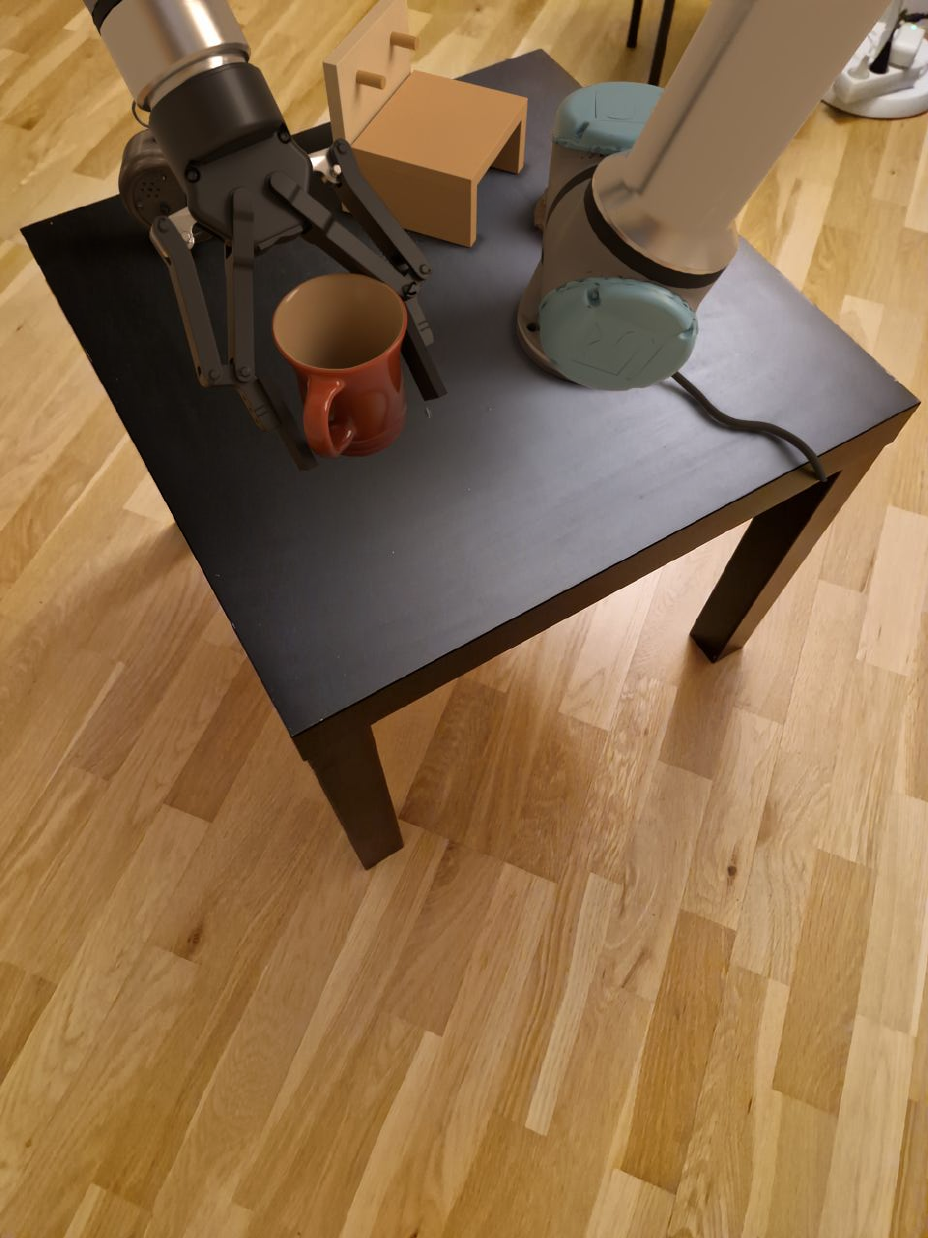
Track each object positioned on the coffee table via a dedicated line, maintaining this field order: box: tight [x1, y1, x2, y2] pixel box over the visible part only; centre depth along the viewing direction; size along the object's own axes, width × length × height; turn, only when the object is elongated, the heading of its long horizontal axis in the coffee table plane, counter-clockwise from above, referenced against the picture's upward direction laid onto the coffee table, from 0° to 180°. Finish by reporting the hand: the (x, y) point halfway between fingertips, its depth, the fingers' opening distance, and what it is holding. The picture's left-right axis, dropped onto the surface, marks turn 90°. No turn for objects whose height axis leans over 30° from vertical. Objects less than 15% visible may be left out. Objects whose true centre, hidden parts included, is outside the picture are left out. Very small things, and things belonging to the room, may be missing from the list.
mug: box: [271, 272, 408, 460], centre depth 57 cm, size 12×9×10 cm
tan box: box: [321, 0, 529, 248], centre depth 90 cm, size 16×16×16 cm
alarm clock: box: [117, 99, 213, 253], centre depth 85 cm, size 11×5×16 cm, turn 92°
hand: (374, 431), depth 57 cm, fingers closed on mug, 10 cm apart
